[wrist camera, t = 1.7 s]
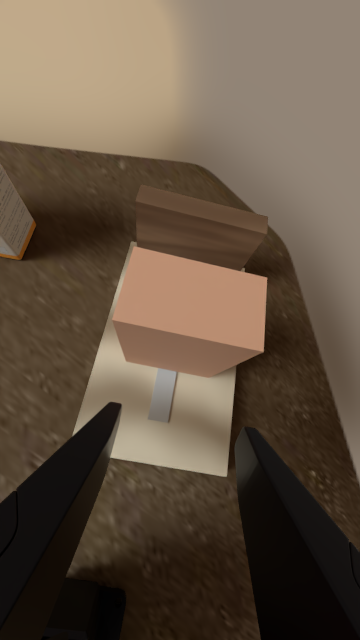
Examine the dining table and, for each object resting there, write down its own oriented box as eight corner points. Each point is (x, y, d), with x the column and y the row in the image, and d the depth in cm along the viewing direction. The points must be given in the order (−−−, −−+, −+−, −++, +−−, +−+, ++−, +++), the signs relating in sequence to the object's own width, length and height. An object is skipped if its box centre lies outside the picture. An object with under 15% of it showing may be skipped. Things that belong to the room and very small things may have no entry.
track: (220, 472, 20) (272, 513, 12) (73, 447, 19) (25, 474, 11) (239, 275, 27) (280, 219, 19) (131, 250, 26) (127, 181, 18)
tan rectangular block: (208, 378, 20) (263, 351, 11) (125, 361, 20) (111, 319, 11) (214, 333, 22) (267, 277, 13) (137, 317, 21) (133, 246, 12)
